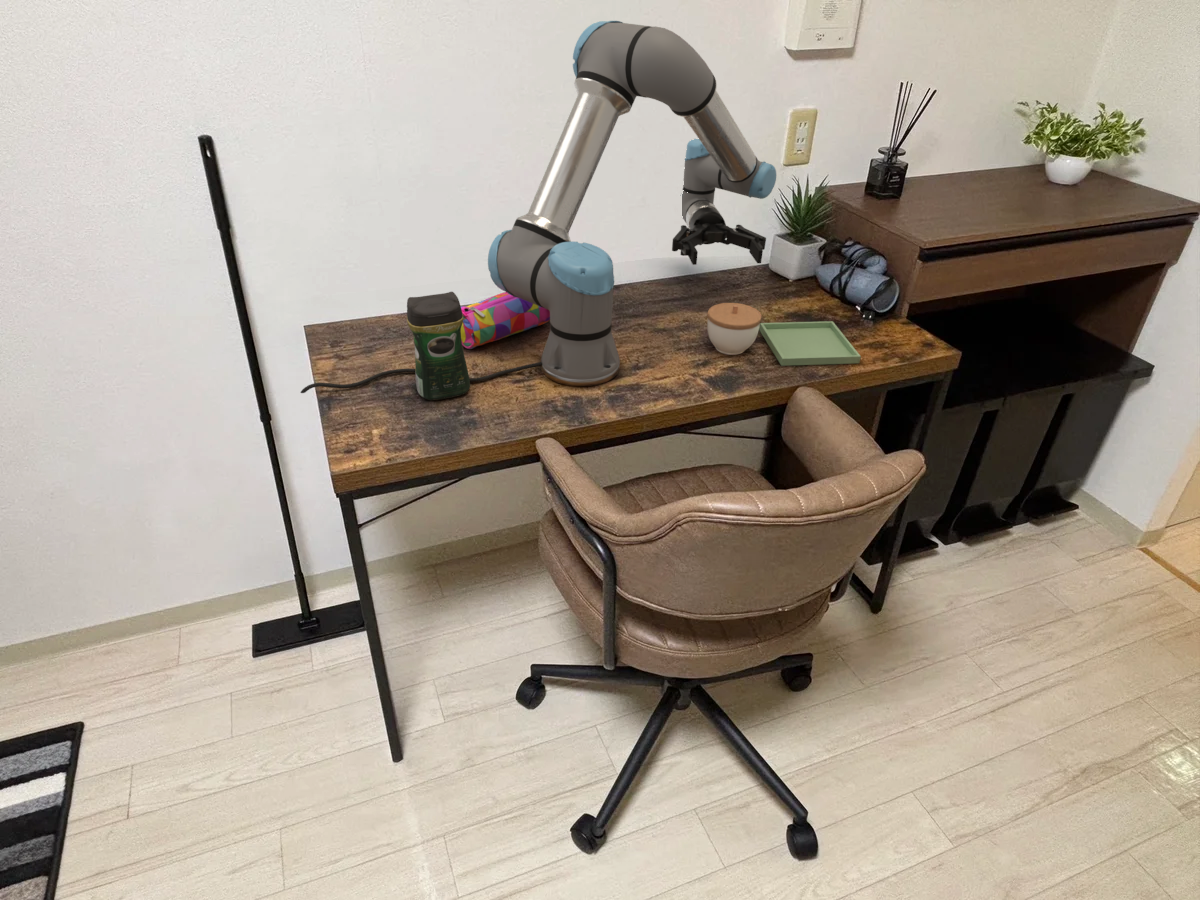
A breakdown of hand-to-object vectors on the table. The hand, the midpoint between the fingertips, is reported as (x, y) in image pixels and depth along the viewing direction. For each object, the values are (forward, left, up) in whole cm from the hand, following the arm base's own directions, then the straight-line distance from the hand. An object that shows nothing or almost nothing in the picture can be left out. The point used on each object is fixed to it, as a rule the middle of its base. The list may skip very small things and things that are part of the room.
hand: (727, 257), depth 158 cm
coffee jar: (-58, -23, -16) cm, 64 cm away
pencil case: (-47, -1, -16) cm, 49 cm away
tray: (+16, -10, -16) cm, 25 cm away
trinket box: (0, -10, -16) cm, 19 cm away
